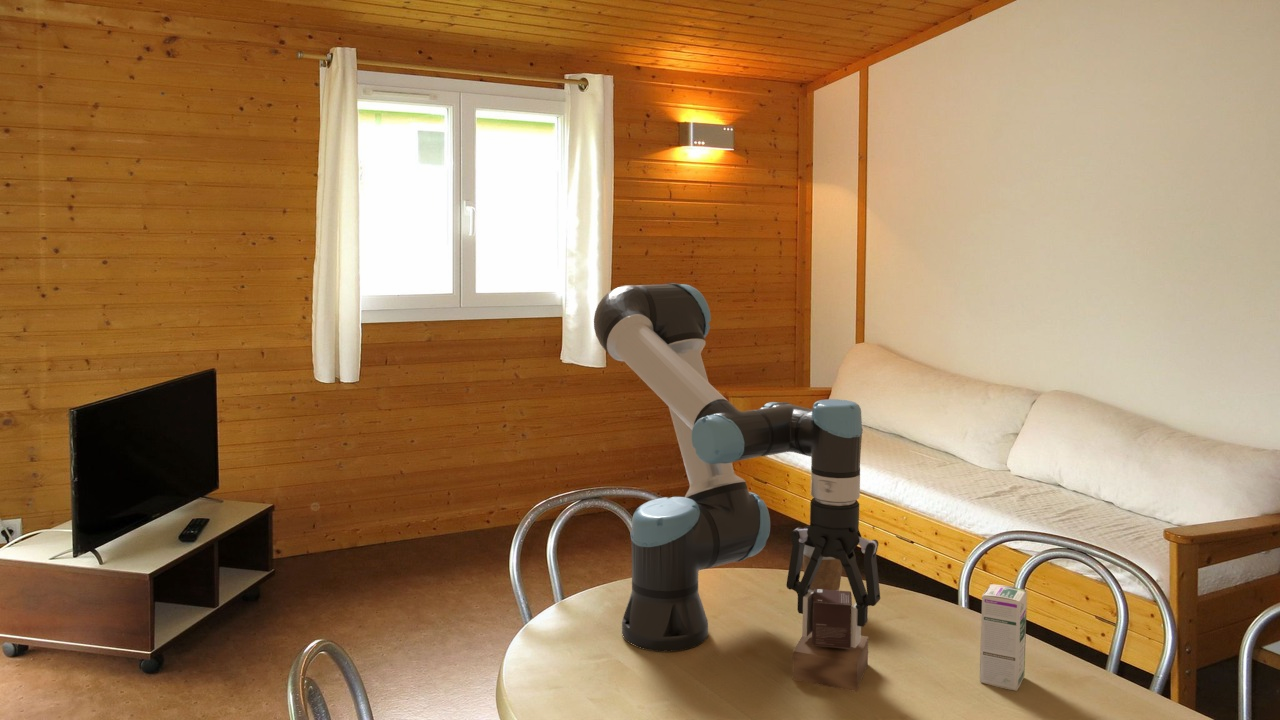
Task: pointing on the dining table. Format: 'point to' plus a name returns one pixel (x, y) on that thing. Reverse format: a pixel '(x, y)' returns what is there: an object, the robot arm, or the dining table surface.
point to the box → (831, 618)
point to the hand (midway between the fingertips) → (831, 638)
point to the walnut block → (830, 664)
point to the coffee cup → (823, 569)
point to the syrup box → (1003, 636)
